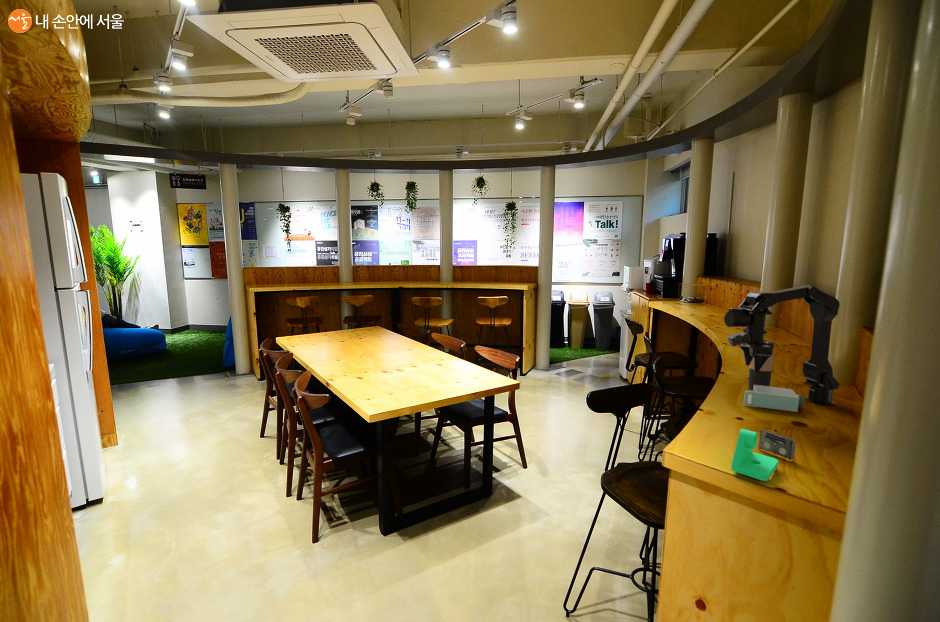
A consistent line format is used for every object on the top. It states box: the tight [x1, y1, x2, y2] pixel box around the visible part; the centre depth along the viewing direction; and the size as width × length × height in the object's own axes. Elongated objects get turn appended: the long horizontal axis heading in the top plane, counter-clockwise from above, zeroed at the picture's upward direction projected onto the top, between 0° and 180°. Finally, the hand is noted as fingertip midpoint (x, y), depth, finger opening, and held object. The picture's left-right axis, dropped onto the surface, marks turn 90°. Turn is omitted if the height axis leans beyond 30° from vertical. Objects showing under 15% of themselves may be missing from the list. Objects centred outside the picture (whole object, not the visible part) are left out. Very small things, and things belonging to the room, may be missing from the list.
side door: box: [743, 390, 799, 413], centre depth 155 cm, size 16×2×5 cm, turn 64°
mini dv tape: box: [758, 429, 796, 460], centre depth 120 cm, size 8×2×6 cm, turn 26°
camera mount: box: [730, 428, 779, 482], centre depth 111 cm, size 12×8×10 cm, turn 134°
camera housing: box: [752, 385, 805, 412], centre depth 159 cm, size 14×10×6 cm
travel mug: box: [747, 339, 775, 391], centre depth 177 cm, size 8×8×20 cm
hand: (751, 368), depth 160 cm, fingers open, 9 cm apart
